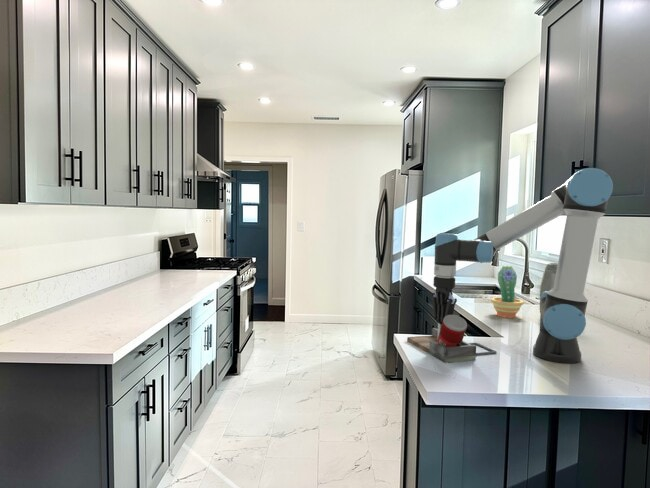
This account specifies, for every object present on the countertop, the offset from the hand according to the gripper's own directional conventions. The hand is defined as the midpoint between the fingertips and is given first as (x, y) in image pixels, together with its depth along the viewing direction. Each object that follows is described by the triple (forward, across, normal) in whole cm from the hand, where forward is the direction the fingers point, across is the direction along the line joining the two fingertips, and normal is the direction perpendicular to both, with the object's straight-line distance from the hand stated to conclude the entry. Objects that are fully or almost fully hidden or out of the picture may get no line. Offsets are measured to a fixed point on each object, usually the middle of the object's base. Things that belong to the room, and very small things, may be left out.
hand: (441, 340), depth 157 cm
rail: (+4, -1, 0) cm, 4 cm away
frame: (+4, +2, +13) cm, 14 cm away
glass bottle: (+4, -29, +79) cm, 84 cm away
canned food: (+1, +4, 0) cm, 4 cm away
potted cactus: (+4, -43, +65) cm, 78 cm away
